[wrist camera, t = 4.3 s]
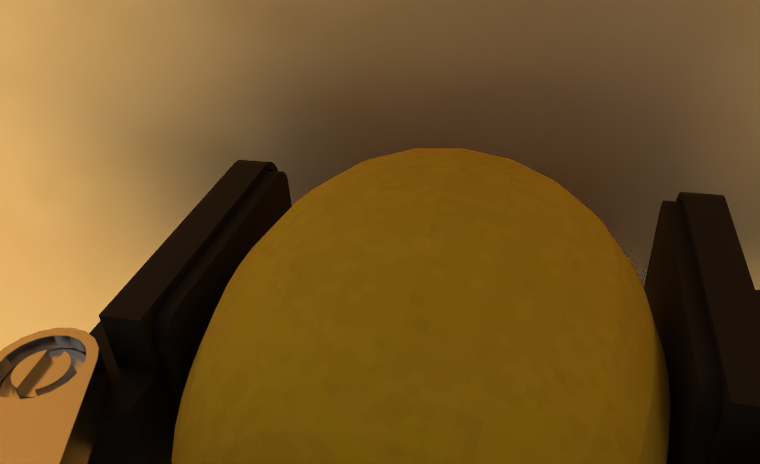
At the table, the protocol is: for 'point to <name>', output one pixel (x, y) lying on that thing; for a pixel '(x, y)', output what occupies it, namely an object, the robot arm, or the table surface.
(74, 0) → the table surface
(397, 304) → the lemon
